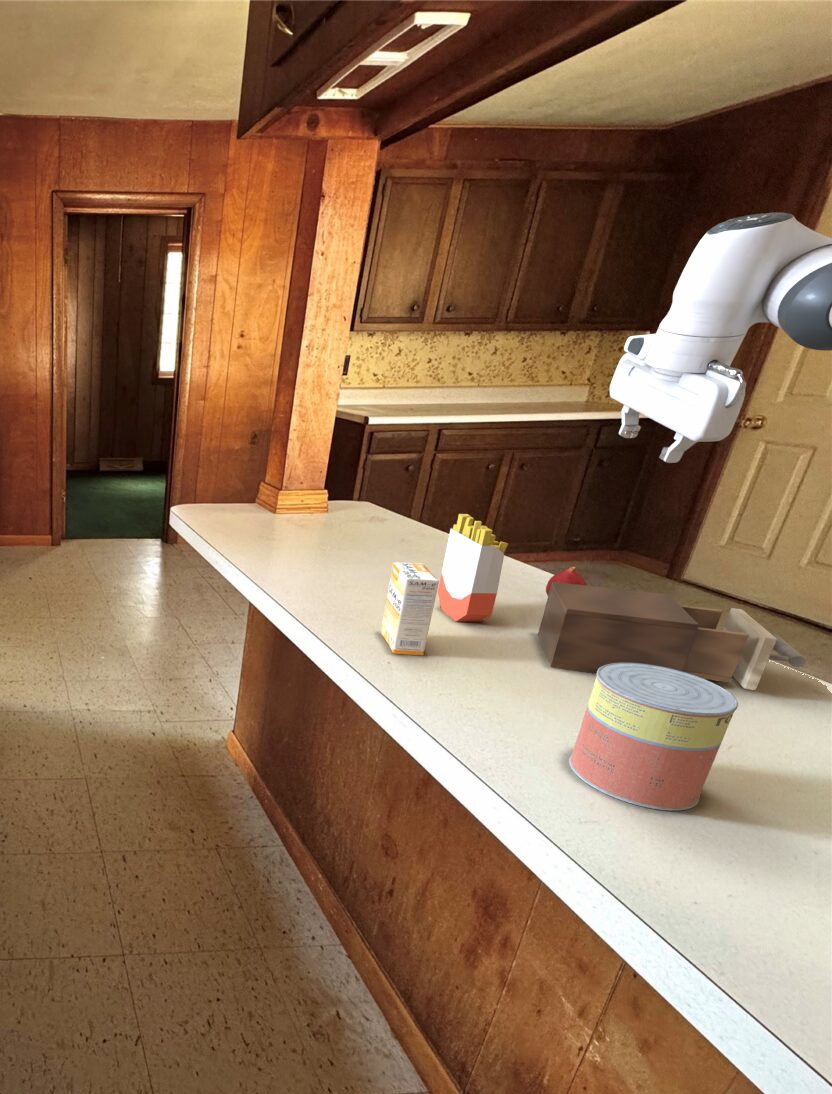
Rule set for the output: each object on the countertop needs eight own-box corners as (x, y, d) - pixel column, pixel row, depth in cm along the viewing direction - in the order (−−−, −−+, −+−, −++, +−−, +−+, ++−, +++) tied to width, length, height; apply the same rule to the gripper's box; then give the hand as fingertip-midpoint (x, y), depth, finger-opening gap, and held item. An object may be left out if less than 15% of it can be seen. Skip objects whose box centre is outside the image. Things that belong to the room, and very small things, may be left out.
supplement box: (378, 633, 114) (391, 561, 109) (409, 635, 113) (423, 562, 108) (391, 654, 106) (405, 578, 101) (424, 656, 105) (440, 579, 100)
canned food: (724, 818, 69) (767, 719, 65) (597, 802, 72) (629, 706, 68) (661, 756, 79) (695, 667, 75) (552, 744, 82) (578, 658, 78)
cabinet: (650, 650, 104) (669, 594, 101) (676, 686, 94) (699, 624, 91) (537, 635, 111) (551, 581, 107) (550, 666, 101) (567, 608, 97)
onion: (534, 605, 123) (545, 564, 120) (553, 599, 125) (564, 559, 122) (569, 615, 118) (581, 573, 115) (588, 609, 120) (600, 568, 117)
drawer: (762, 661, 98) (782, 613, 95) (799, 697, 89) (823, 644, 86) (610, 641, 106) (624, 596, 103) (629, 671, 97) (646, 622, 94)
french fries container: (460, 604, 124) (481, 511, 118) (491, 627, 114) (515, 527, 108) (434, 604, 125) (453, 511, 118) (462, 627, 115) (485, 527, 108)
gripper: (779, 372, 81) (723, 476, 89) (667, 332, 98) (627, 423, 105) (721, 375, 82) (670, 478, 90) (619, 335, 98) (584, 425, 106)
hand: (646, 448), depth 98 cm, fingers open, 8 cm apart
